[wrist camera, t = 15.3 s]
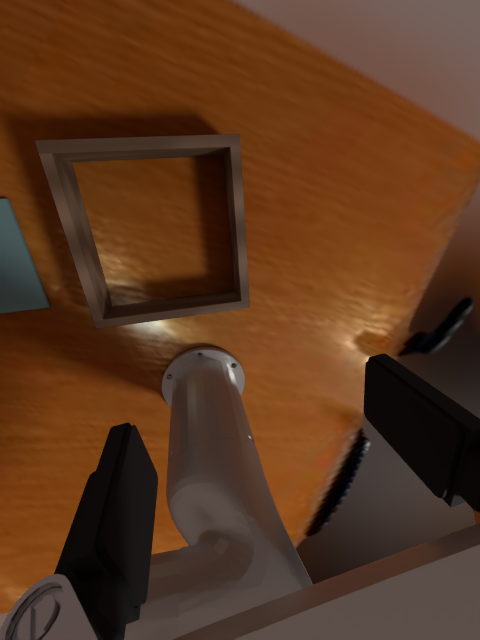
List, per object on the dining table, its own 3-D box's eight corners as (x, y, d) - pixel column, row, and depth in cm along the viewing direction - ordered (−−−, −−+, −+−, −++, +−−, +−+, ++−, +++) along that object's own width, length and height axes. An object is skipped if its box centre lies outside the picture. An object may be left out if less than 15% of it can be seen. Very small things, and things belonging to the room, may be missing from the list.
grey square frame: (242, 296, 36) (249, 307, 32) (106, 314, 33) (96, 329, 29) (231, 144, 29) (239, 133, 25) (57, 151, 26) (34, 140, 22)
